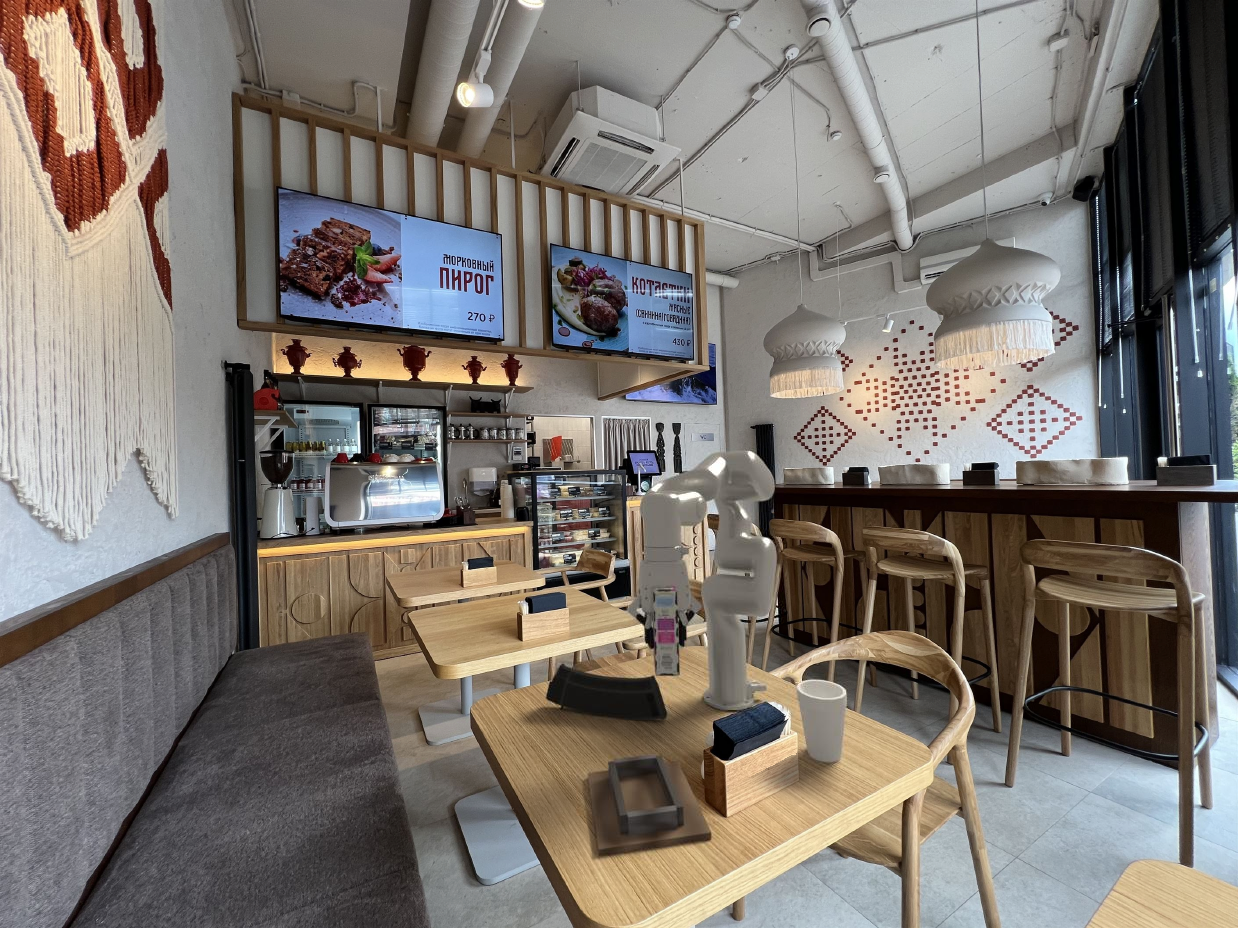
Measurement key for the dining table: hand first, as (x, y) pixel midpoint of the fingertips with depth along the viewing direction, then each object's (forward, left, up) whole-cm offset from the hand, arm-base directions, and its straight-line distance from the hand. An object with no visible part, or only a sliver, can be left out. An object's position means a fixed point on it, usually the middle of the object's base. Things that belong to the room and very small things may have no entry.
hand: (665, 644), depth 100 cm
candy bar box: (0, -1, -5) cm, 5 cm away
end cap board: (+8, +10, -24) cm, 27 cm away
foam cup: (-31, +2, -24) cm, 40 cm away
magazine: (+10, -24, -24) cm, 36 cm away
